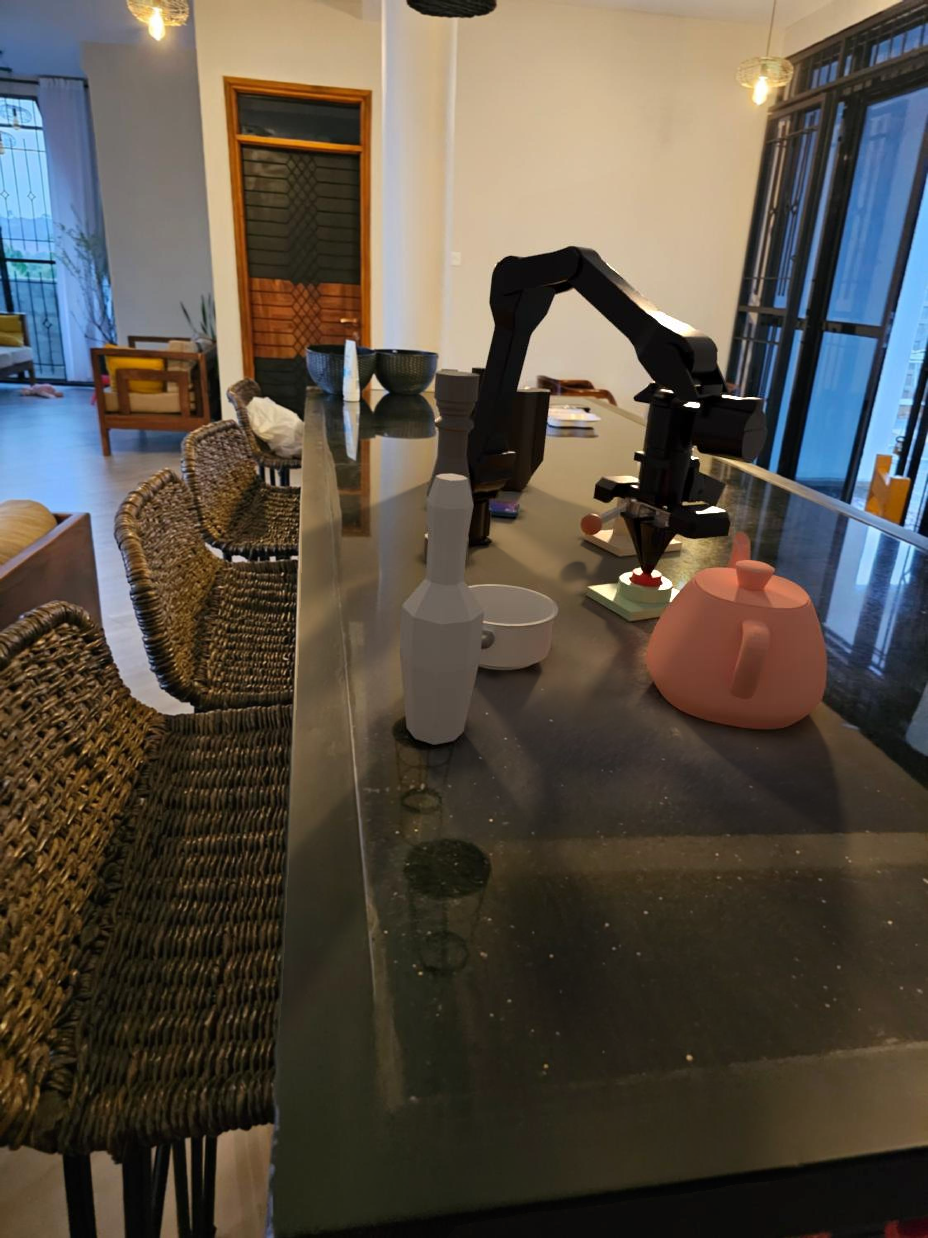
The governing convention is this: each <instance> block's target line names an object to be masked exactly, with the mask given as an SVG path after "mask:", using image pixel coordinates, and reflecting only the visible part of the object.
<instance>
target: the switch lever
mask: <svg viewBox="0 0 928 1238" xmlns="http://www.w3.org/2000/svg"><path fill="white" fill-rule="evenodd" d="M626 503H627V502H625V503H623V504H621V505H619V506H617V505H616V506H617V507H616V506H615V507H613V508H611V509H610V510H607V511H605V512H604V513H601V514H599V515H597V514H595V513H588V514H585V515H584V516H583V517H582V518H581V521H580V529H581V531H582V532H583V533H584V535H585V534H587V535H595V534H597V533H598V532H599V531H601V530H602V528H603V525H604V524H606V523H608V522H610V521H611V520H613V519H614V520H615V518H616V517H618V516H620V512H622V511H625V510H626Z"/></svg>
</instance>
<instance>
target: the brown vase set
mask: <svg viewBox="0 0 928 1238" xmlns="http://www.w3.org/2000/svg"><path fill="white" fill-rule="evenodd" d="M440 371H459V369H453V368H452V369H451V368H441V370H440ZM484 371H485V367H478V366H477V367H471V373H475V374H479V388H478V397H479V393H480V389H481V384H482V380H483V376H484ZM550 401H551V390H550V389H547V388H539V387H529V385H528V386H527V385H525V386H524V387H523V389H521V388H518V389H517V393H516V397H515V400H514V404H513V408H512V412H511V416H510V420H509V424H508V428H507V432H506V441H507V445H508V448H509V451H513V452H515V453H516V458H515V461H514V463H513V466H512V470H511V479H507V481H506V484H505V485H504V486H503V487H501V489H500V491H511V492H512V491H514V492H516V491H517V492H519V491H524V490H525V489H526V487H527V486H528V484H529V482H530V481H531V479H532V477H533V476H534V474H535V473H536V472H537V470H538V469H539V467H540V466H541V464H542V463H543V462H544V457H545V449H546V448H545V447H546V438H547V430H548V422H549V421H548V420H549V411H550V403H551V402H550ZM477 402H478V401H477ZM477 402H475V408H474V409H473V410H472V413H471V415H470V416H469V418H470V420H472V421H473V419H474V415H475V411H476V406H477ZM439 416H440V413H439V415H438V417H439ZM437 433H438V434H437V443H438V442H439V431H438V432H437ZM436 451H437V452H436V456H437V455H438V448H437V450H436Z"/></svg>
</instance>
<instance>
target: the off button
mask: <svg viewBox="0 0 928 1238" xmlns="http://www.w3.org/2000/svg"><path fill="white" fill-rule="evenodd" d="M631 572H632V578H631V582H633V583H635V584H637V585H641V586H648V587H657V586H660V583H661V578H662V577H663V574H662V572H660V571H658V570H656V569H654V571H653V572H652V573H647V574H646V573H644V572H642V570H641V567H636V568H634V569H633V570H632V571H631Z"/></svg>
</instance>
